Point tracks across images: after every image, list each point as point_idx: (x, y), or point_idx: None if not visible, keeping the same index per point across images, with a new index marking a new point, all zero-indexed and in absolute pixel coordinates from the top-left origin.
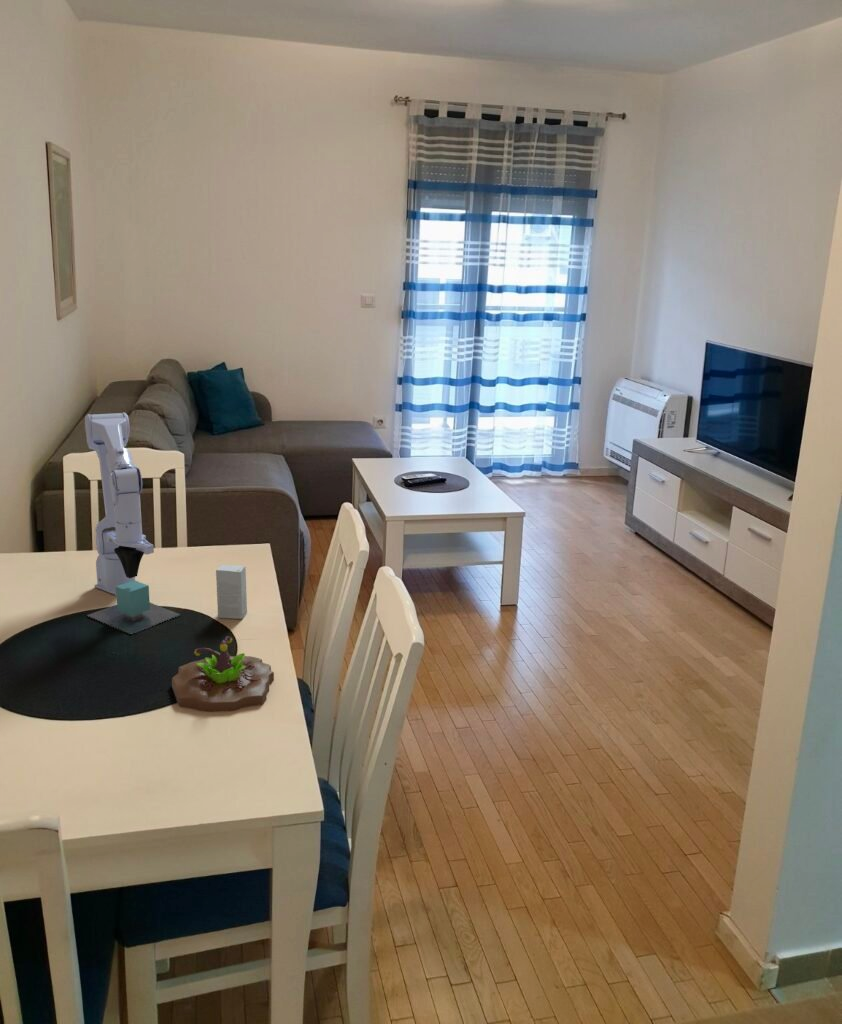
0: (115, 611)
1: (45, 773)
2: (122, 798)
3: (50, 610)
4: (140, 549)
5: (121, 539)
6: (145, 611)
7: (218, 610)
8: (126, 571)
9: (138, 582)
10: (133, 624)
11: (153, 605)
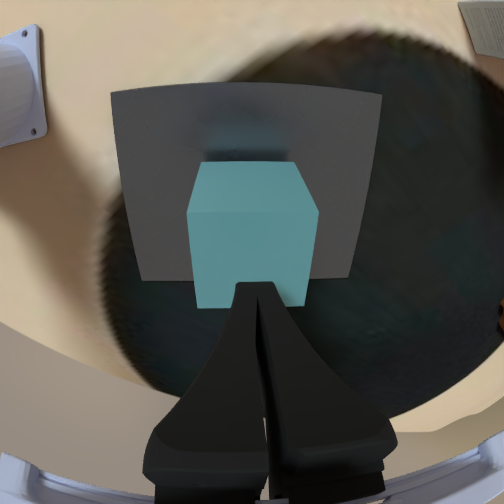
0: (173, 217)
1: (440, 420)
2: (494, 395)
3: (57, 302)
4: (419, 484)
5: None
6: (255, 150)
7: (493, 56)
8: (258, 359)
9: (235, 218)
10: None
11: (230, 93)
